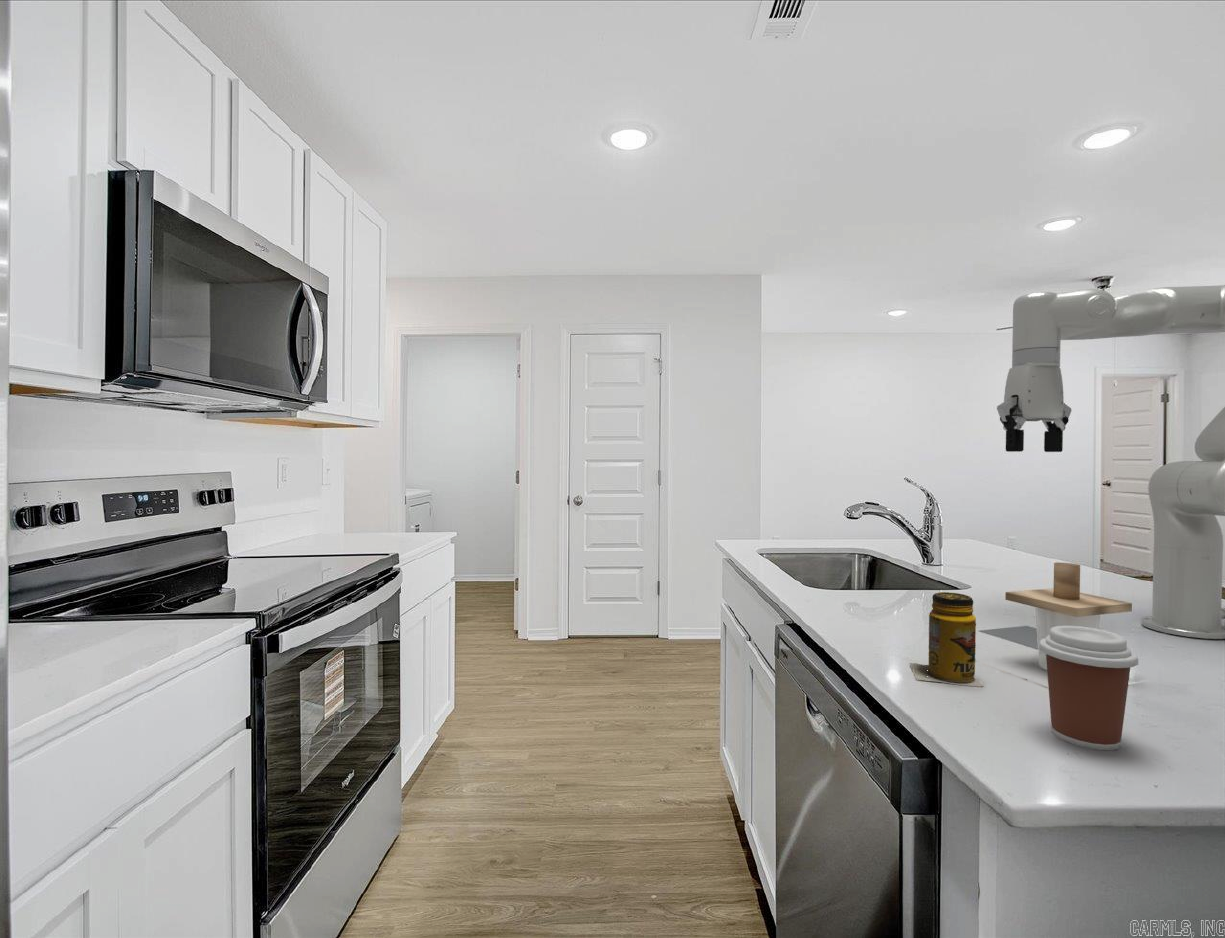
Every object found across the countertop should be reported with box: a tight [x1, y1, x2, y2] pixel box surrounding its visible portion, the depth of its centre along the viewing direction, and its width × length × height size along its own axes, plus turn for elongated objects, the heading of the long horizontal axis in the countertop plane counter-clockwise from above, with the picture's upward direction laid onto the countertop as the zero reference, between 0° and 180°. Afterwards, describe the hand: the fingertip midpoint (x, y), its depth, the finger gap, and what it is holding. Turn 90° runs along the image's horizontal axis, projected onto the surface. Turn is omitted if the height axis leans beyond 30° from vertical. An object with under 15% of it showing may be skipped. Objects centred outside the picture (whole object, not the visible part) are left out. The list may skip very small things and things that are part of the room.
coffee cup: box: [1038, 626, 1139, 751], centre depth 72 cm, size 9×9×12 cm
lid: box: [1004, 562, 1133, 617], centre depth 94 cm, size 11×11×6 cm
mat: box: [978, 625, 1039, 651], centre depth 111 cm, size 12×12×1 cm
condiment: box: [909, 591, 983, 688], centre depth 92 cm, size 7×8×12 cm
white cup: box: [1035, 607, 1101, 671], centre depth 94 cm, size 8×8×10 cm
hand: (1034, 451), depth 118 cm, fingers open, 9 cm apart
